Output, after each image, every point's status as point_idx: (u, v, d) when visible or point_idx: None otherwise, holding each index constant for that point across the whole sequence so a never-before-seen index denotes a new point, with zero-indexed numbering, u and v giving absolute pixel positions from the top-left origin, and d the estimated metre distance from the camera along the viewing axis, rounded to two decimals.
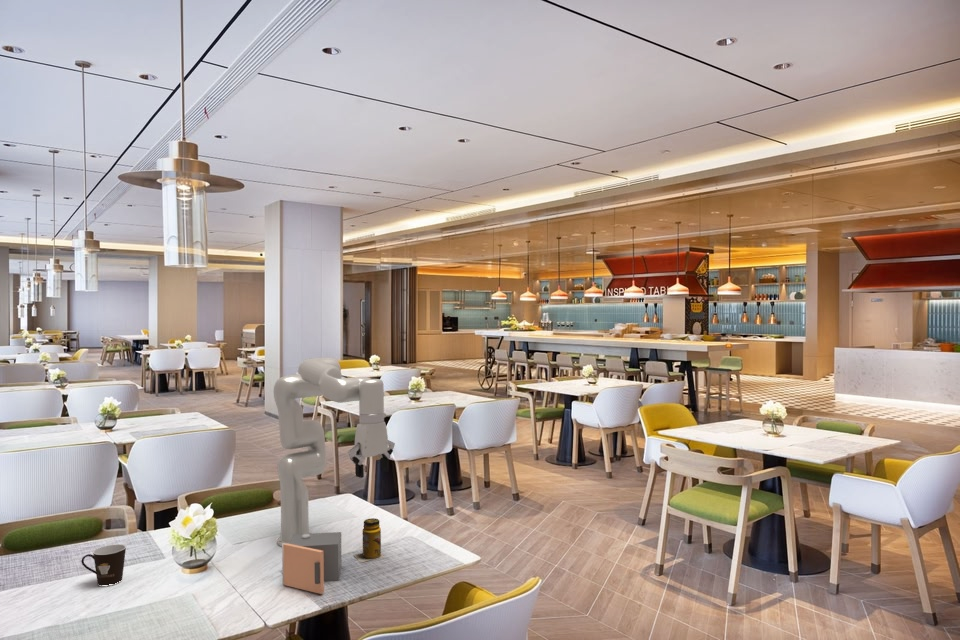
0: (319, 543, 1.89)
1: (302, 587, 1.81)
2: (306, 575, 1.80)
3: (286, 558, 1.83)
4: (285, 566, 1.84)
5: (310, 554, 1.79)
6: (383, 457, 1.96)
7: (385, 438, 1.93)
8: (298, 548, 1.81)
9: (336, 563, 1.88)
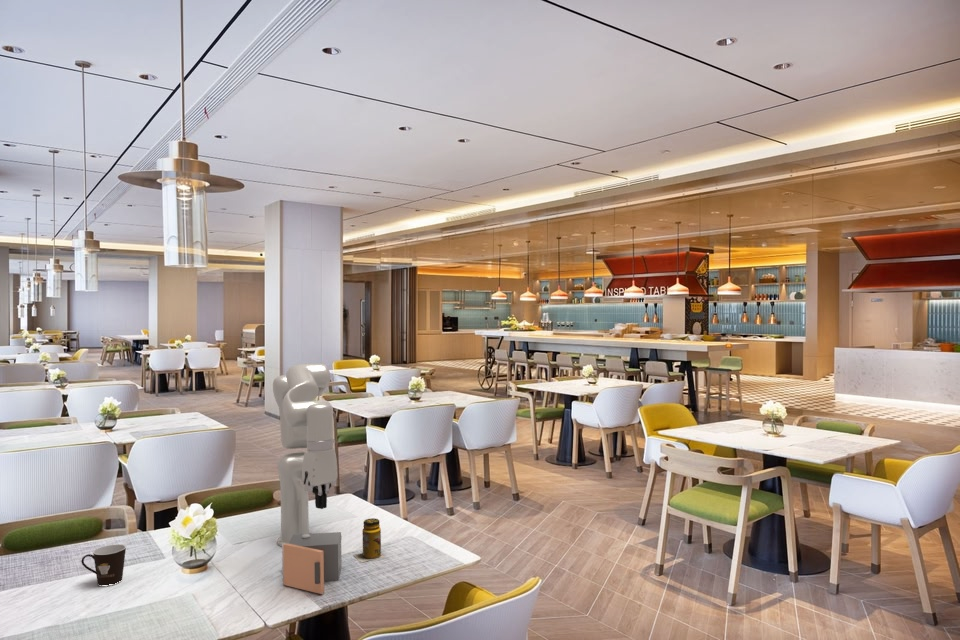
0: (319, 543, 1.89)
1: (302, 587, 1.81)
2: (306, 575, 1.80)
3: (286, 558, 1.83)
4: (285, 566, 1.84)
5: (310, 554, 1.79)
6: None
7: (334, 465, 1.85)
8: (298, 548, 1.81)
9: (336, 563, 1.88)
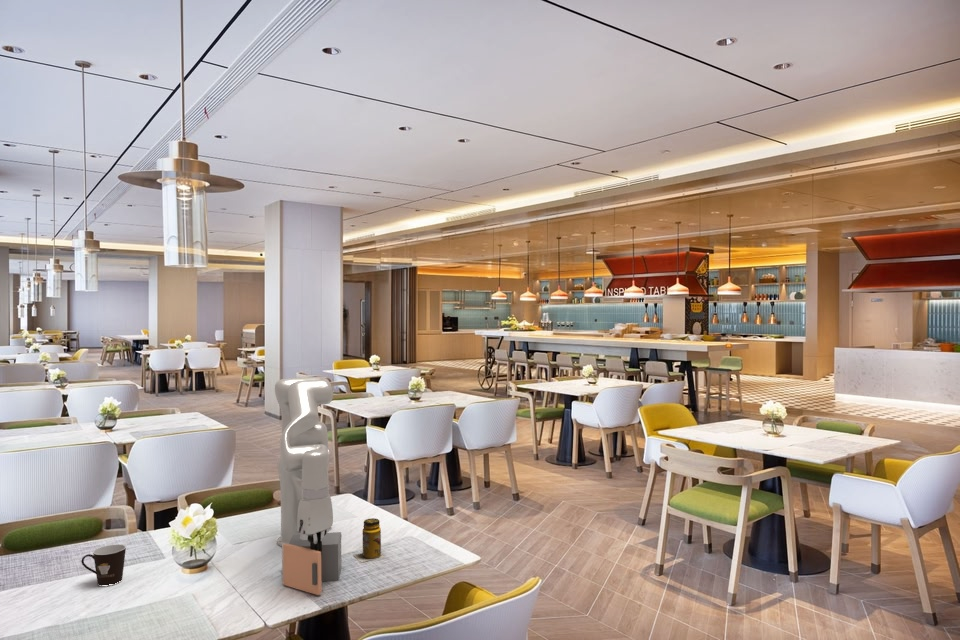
0: None
1: (301, 588, 1.80)
2: (304, 576, 1.79)
3: (286, 558, 1.83)
4: (285, 566, 1.84)
5: (308, 554, 1.79)
6: None
7: (330, 512, 1.83)
8: (297, 548, 1.81)
9: (336, 563, 1.88)
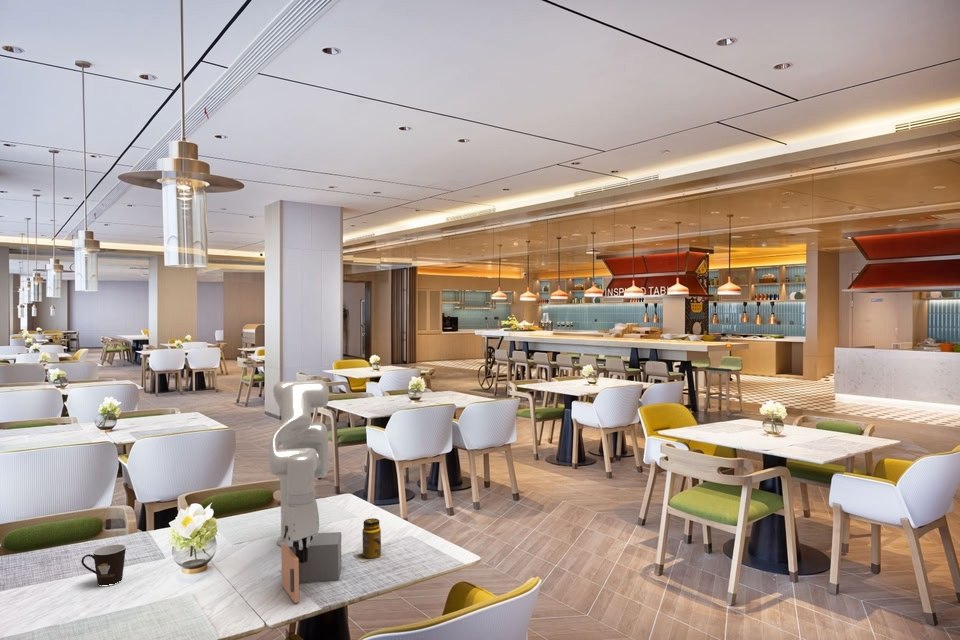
0: (319, 543, 1.89)
1: (288, 591, 1.78)
2: (289, 580, 1.77)
3: (282, 558, 1.83)
4: (282, 566, 1.84)
5: (290, 559, 1.75)
6: (302, 543, 1.78)
7: (316, 518, 1.79)
8: (286, 551, 1.79)
9: (336, 563, 1.88)
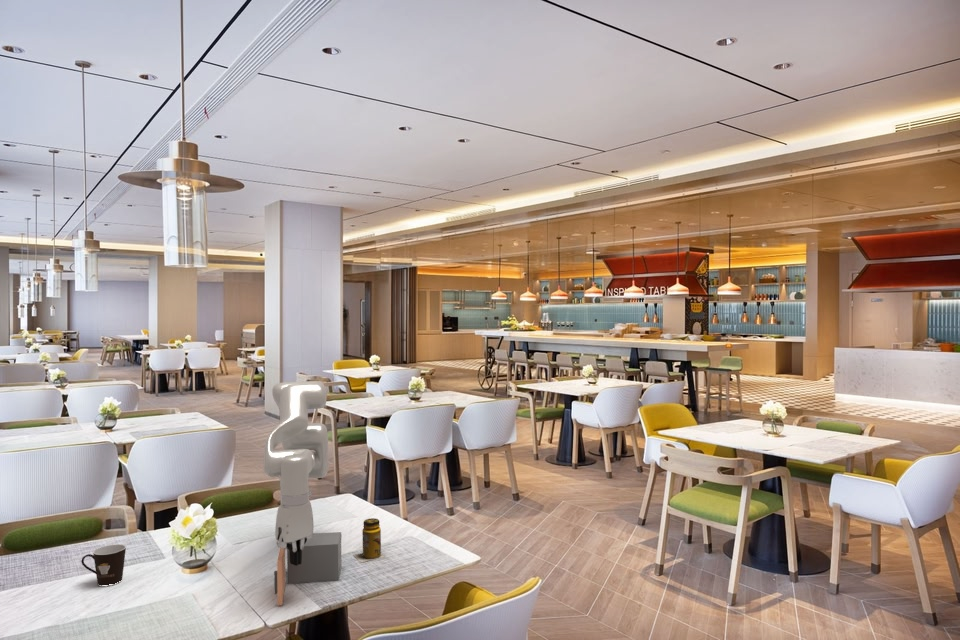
0: (319, 543, 1.89)
1: None
2: None
3: None
4: None
5: None
6: (296, 545, 1.76)
7: (310, 519, 1.77)
8: (279, 551, 1.79)
9: (336, 563, 1.88)
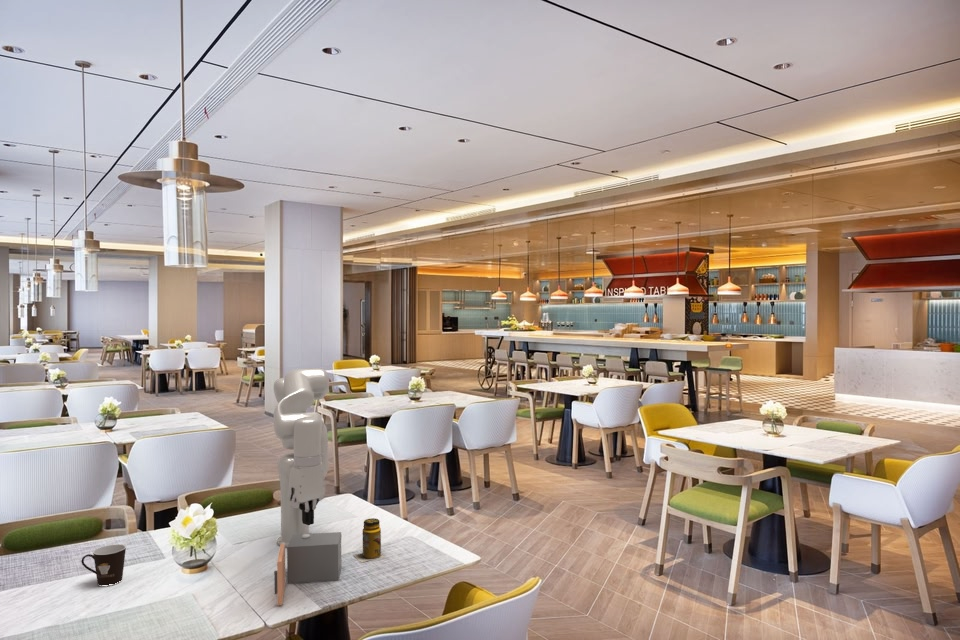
0: (319, 543, 1.89)
1: None
2: None
3: None
4: None
5: None
6: None
7: (322, 481, 1.80)
8: (279, 551, 1.79)
9: (336, 563, 1.88)
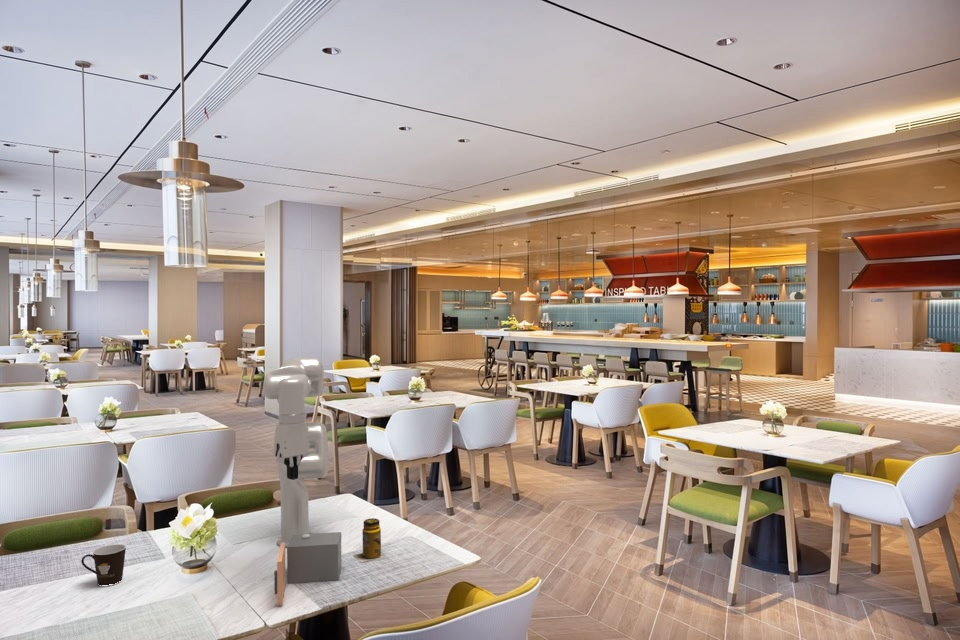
0: (319, 543, 1.89)
1: None
2: None
3: None
4: None
5: None
6: (292, 461, 1.89)
7: (306, 438, 1.90)
8: (279, 551, 1.79)
9: (336, 563, 1.88)
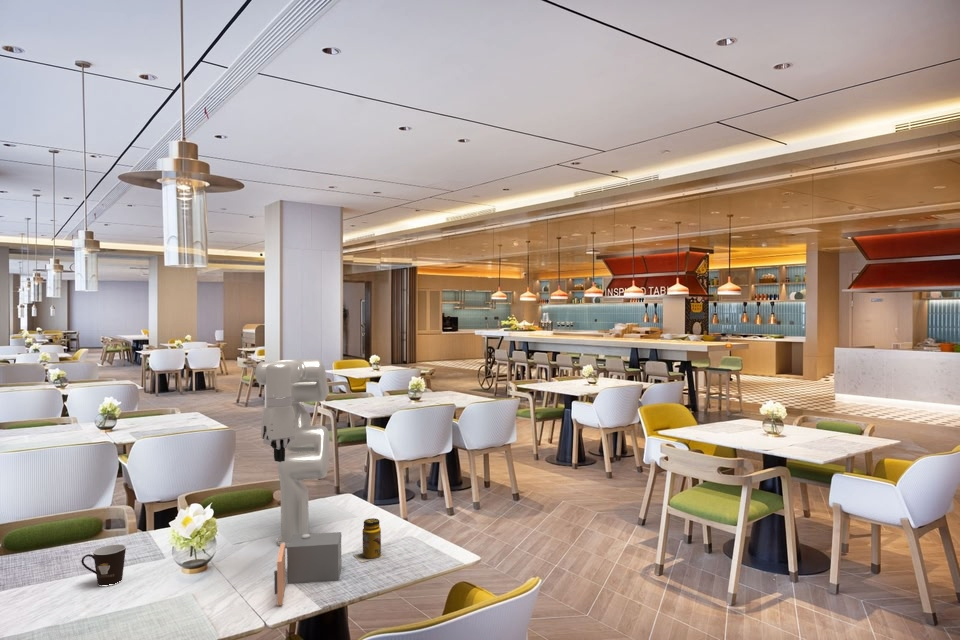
0: (319, 543, 1.89)
1: None
2: None
3: None
4: None
5: None
6: (279, 444, 1.95)
7: (292, 422, 1.96)
8: (279, 551, 1.79)
9: (336, 563, 1.88)
